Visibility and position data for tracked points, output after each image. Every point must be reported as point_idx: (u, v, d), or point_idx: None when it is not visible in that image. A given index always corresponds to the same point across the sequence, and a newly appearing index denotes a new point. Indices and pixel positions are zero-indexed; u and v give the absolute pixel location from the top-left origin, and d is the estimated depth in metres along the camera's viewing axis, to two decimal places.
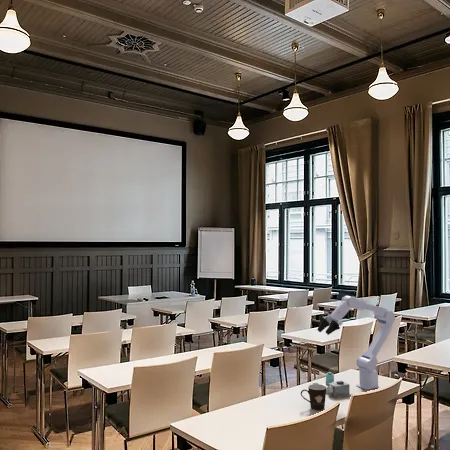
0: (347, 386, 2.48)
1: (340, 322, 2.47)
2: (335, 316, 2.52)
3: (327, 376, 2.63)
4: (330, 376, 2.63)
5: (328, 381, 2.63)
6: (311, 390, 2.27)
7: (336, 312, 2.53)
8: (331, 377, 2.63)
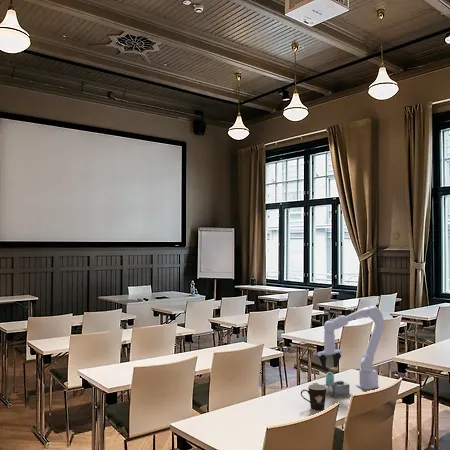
0: (347, 386, 2.48)
1: (318, 353, 2.63)
2: (324, 348, 2.66)
3: (327, 376, 2.63)
4: (330, 376, 2.63)
5: (328, 381, 2.63)
6: (311, 390, 2.27)
7: None
8: (331, 377, 2.63)
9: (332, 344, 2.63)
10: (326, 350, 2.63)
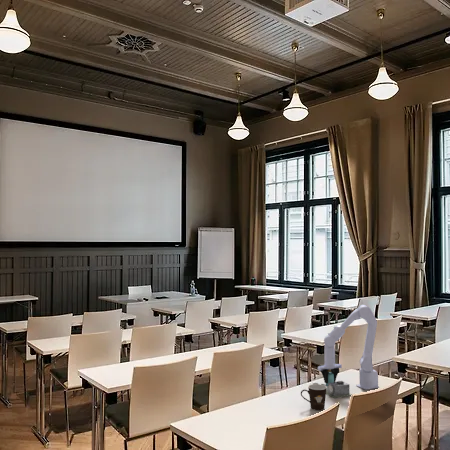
0: (347, 386, 2.48)
1: (318, 368, 2.62)
2: (324, 363, 2.66)
3: None
4: (330, 376, 2.63)
5: (328, 381, 2.63)
6: (311, 390, 2.27)
7: None
8: (331, 377, 2.63)
9: (332, 359, 2.62)
10: (326, 365, 2.63)
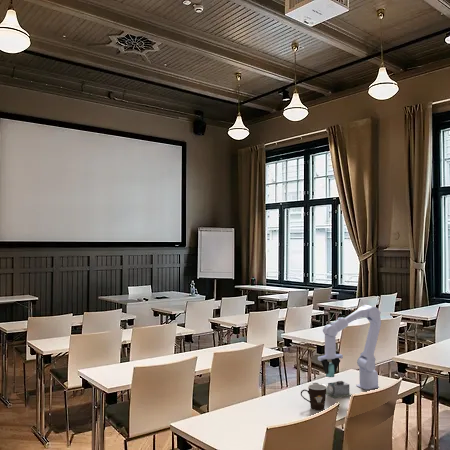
0: (347, 386, 2.48)
1: (318, 358, 2.54)
2: (325, 353, 2.58)
3: None
4: (330, 367, 2.55)
5: (328, 372, 2.55)
6: (311, 390, 2.27)
7: None
8: (331, 368, 2.55)
9: (333, 348, 2.54)
10: (327, 355, 2.55)
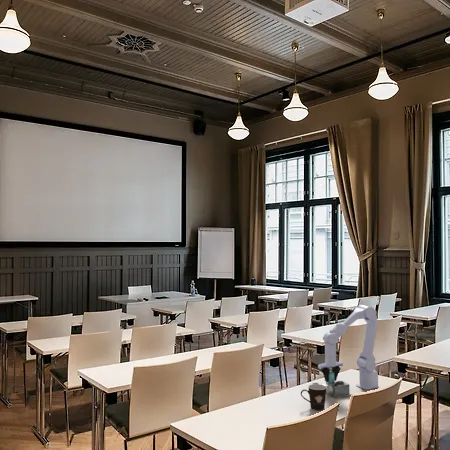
0: (347, 386, 2.48)
1: (318, 366, 2.53)
2: (325, 361, 2.56)
3: None
4: (330, 375, 2.54)
5: None
6: (311, 390, 2.27)
7: None
8: (331, 376, 2.54)
9: (333, 356, 2.53)
10: (327, 363, 2.54)
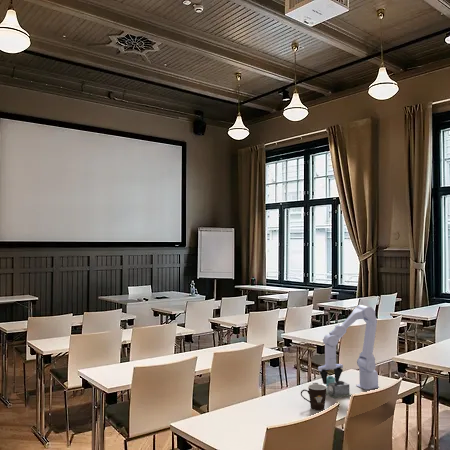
0: (347, 386, 2.48)
1: (318, 368, 2.53)
2: (325, 363, 2.56)
3: (327, 380, 2.55)
4: (330, 380, 2.54)
5: None
6: (311, 390, 2.27)
7: None
8: (331, 381, 2.54)
9: (333, 358, 2.53)
10: (327, 365, 2.54)
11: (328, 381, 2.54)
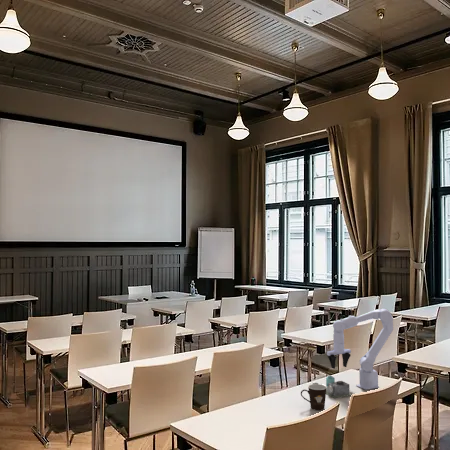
0: (347, 386, 2.48)
1: (327, 353, 2.61)
2: None
3: (327, 380, 2.55)
4: (330, 380, 2.54)
5: None
6: (311, 390, 2.27)
7: None
8: (331, 381, 2.54)
9: (341, 343, 2.61)
10: (335, 350, 2.62)
11: (328, 381, 2.54)
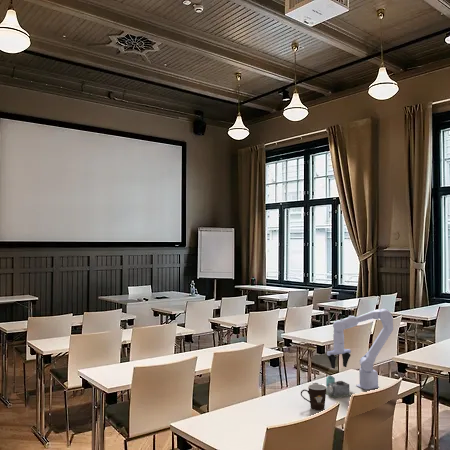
0: (347, 386, 2.48)
1: (327, 353, 2.61)
2: None
3: (327, 380, 2.54)
4: (330, 380, 2.54)
5: None
6: (311, 390, 2.27)
7: None
8: (331, 381, 2.54)
9: (341, 343, 2.61)
10: (335, 350, 2.62)
11: (328, 381, 2.54)
